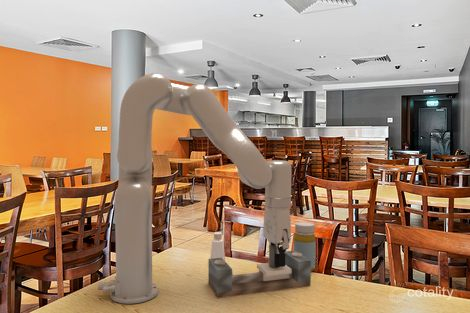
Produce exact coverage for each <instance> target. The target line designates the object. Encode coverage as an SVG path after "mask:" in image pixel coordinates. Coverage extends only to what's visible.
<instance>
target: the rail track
mask: <svg viewBox="0 0 470 313" xmlns="http://www.w3.org/2000/svg"><path fill="white" fill-rule="evenodd" d="M285 265H287V266H288V267H289V268H291V269H292V273H289V278H287V279H279V280H270V281H263V273H262V272H259V271H258V272H250V273H242V274H241V273H239V274H233V269H232V267H231V266H230V265H229V264H228V263H227V262H226V260H225V261H224V260H223V258H213V259H210V258H208V286H209V287H210V288H211V290H212V292H213V293H214V295H215V297H217V299H220V298H222V299H223V298H228V297H229V298H230V297H236V296H237V297H238V296H243V295H252V294H258V293H259V294H260V293H266V292H267V293H268V292H274V291H282V290H289V289H296V288H304V287H311V286H312V285H311V284H312V283H311V278H312V277H311V276H312V274H311V273H312V272H311V260H309V259H308V258H306V257H305V256H303V255H302V254H301V253H298V252H297V251H294V250H286V253H285Z"/></svg>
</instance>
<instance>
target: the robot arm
mask: <svg viewBox="0 0 470 313" xmlns="http://www.w3.org/2000/svg"><path fill="white" fill-rule="evenodd" d="M155 110H159V111H163V112H164V111H165V112H169V113H174V114H179V115H183V116H184V115H185V116H191V117H192V119H194V121H195V122H196V123H197V125H198V126H199V127H200V128H201V130H202V131H203V133H204V135H206V137H207V138H208V140H209V141H210V142H211V143H212V144H213V145H214V147H216V148H217V149H218V150H219V151H221V152H222V153H224V155H225V156H226V157H227V158H228V159H230V161H231V162H232V163H233V165H234V166H235V167H236V168H237V177H238V178H239V180H240V181H241V182H242V183H243V184H245V185H247V186H249V187H251V188H253V189H256V190H258V189H259V190H261V189H265V194H264V208H265V209H264V215H263V226H262V227H263V229H262V234H263V235H262V236H263V238H265V239H266V240H267V241H268V247H269V246H270V245H276V253H275V265H274V266H275V267H284V266H285V253H286V251H288V250H289V249H290V244H289V243H290V242H291V239H292V222H291V220H292V218H291V210H290V209H292V208H291V207H292V163H291V162H290V161H288V160H280V159H279V160H278V159H277V160H276V159H275V160H274V159H273V160H269V161H268V160H266V159H265V157H264V156H263V154H262V153H261V152H260V150H259V149H258V148H257V146H256V145H255V144H254V143H253V142H252V140H250V139H249V137H248V136H247V135H246V134H245V133H244V132H243V131H242V129H241V128H240V127H239V126H238V125H237V123H236V122H235V121H234V120H233V118H232V117H231V115H230V114H229V113H228V112H227V110H226V109H225V107H224V106H223V104H222V103H221V101H219V99H218V97H217V96H216V95H215V93H214V92H213V91H212V89H211V88H210V87H209V86H207V85H206V84H203V83H196V84H193V85H191V86H188V85H182V84H177V83H172V82H171V81H170V79H169V78H168V77H167V76H165V75H164V74H162V73H158V72H157V73H153V72H152V73H149V74H145V75H143V76H141V77H139V78H138V79H136V80H135V81H134V82H132V83H131V85H130V86H129V87H128V88H127V90H126V91H125V92H124V94H123V97H122V100H121V104H120V110H119V111H120V112H119V124H118V125H119V126H118V142H117V144H118V146H117V152H116V158H117V162H118V185H117V188H116V190H115V193H114V200H113V201H114V204H113V206H114V223H115V224H114V225H115V226H114V228H115V229H114V230H115V275H114V279H110V281H99V282H98V285H97V286H98V287H97V288H98V290H102V292H103V293H105V292H110V294H109V298H110V299H111V300H112V301H114V302H116V303H118V304H124V305H125V304H127V305H130V304H132V305H133V304H139V303H145V302H147V301H149V300H152V299H154V298H155V297H156V296H157V295H158V293H159V287H158V286H157V285H156V284H154V283H153V189H152V188H153V187H152V184H153V182H152V181H153V159H154V157H153V156H154V155H153V154H154V152H153V148H152V146H153V145H152V140H153V137H152V135H153V117H154V116H153V115H154V113H155Z"/></svg>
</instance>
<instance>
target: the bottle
mask: <svg viewBox="0 0 470 313" xmlns="http://www.w3.org/2000/svg"><path fill="white" fill-rule="evenodd" d="M294 225H295V226H294V227H295V228H294V232H295V234H294V236H293V251H297V252H298V253H301V254H302V255H303V256H305V257H306V258H308V259H309V260H311V273H312V272H313V271H314V270H315V269H316V245H317V244H316V241H317V239H316V236H315V229H316V228H315V223H313V222H312V221H311V222H310V221H298V222H295V224H294Z"/></svg>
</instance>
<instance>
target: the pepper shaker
mask: <svg viewBox="0 0 470 313" xmlns="http://www.w3.org/2000/svg"><path fill="white" fill-rule="evenodd" d="M222 234H223V233H222V232H221V231H215V232H213V239H212V240H211V248H210V258H209V259H213V258H223V260H224V261H225V262H226V253H225V245H224V244H225V243H224V240H223V235H222Z"/></svg>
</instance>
